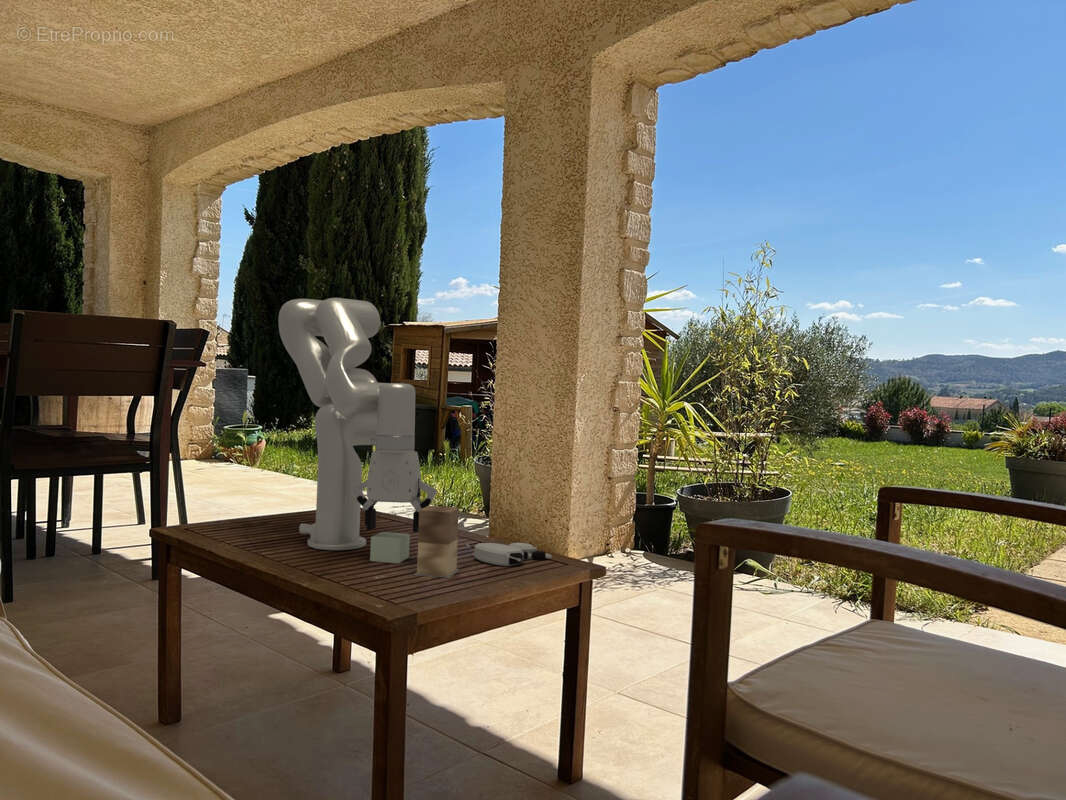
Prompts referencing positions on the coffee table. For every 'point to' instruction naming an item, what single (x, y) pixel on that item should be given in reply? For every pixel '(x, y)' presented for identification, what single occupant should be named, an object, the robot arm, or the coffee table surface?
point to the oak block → (437, 559)
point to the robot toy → (507, 553)
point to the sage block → (389, 547)
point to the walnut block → (438, 525)
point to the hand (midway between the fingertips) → (393, 530)
